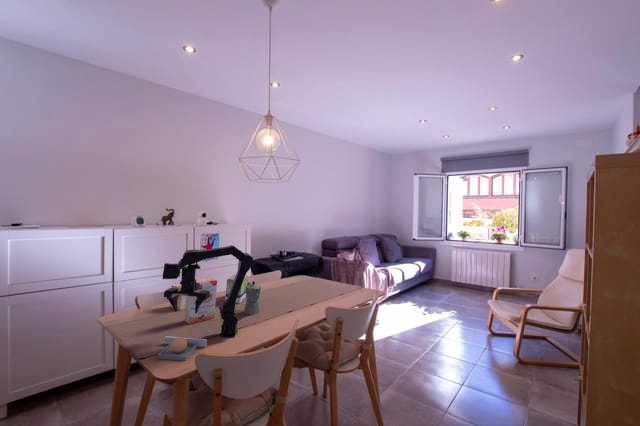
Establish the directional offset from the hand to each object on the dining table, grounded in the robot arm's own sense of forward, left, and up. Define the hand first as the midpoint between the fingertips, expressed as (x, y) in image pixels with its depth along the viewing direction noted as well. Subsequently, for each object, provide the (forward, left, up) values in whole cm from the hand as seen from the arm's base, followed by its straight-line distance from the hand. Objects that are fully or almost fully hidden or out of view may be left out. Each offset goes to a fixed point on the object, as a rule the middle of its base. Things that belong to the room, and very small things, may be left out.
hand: (186, 312), depth 133 cm
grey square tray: (-3, +12, -12) cm, 17 cm away
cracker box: (+2, -22, -12) cm, 25 cm away
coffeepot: (-21, -39, -12) cm, 46 cm away
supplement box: (+20, -36, -12) cm, 43 cm away
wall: (-3, +5, -12) cm, 14 cm away
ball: (-3, +12, -12) cm, 17 cm away
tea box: (-7, -58, -12) cm, 60 cm away
